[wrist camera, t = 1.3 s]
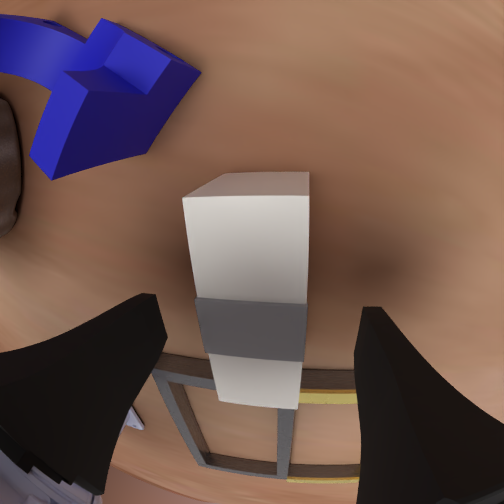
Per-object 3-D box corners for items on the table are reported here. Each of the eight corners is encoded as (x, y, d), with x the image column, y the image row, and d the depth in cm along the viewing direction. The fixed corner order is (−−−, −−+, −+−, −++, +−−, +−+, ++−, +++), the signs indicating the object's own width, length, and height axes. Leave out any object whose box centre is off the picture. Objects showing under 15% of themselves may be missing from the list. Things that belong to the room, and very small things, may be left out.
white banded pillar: (240, 338, 16) (217, 403, 11) (224, 172, 12) (178, 198, 8) (305, 342, 15) (298, 412, 11) (310, 171, 11) (311, 196, 7)
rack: (202, 454, 24) (197, 467, 22) (158, 352, 17) (147, 370, 16) (366, 467, 20) (366, 481, 19) (424, 366, 14) (431, 388, 12)
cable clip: (203, 72, 10) (117, 41, 5) (147, 152, 12) (51, 180, 7) (67, 1, 9) (-5, -13, 3) (34, 61, 11) (-39, 64, 5)
